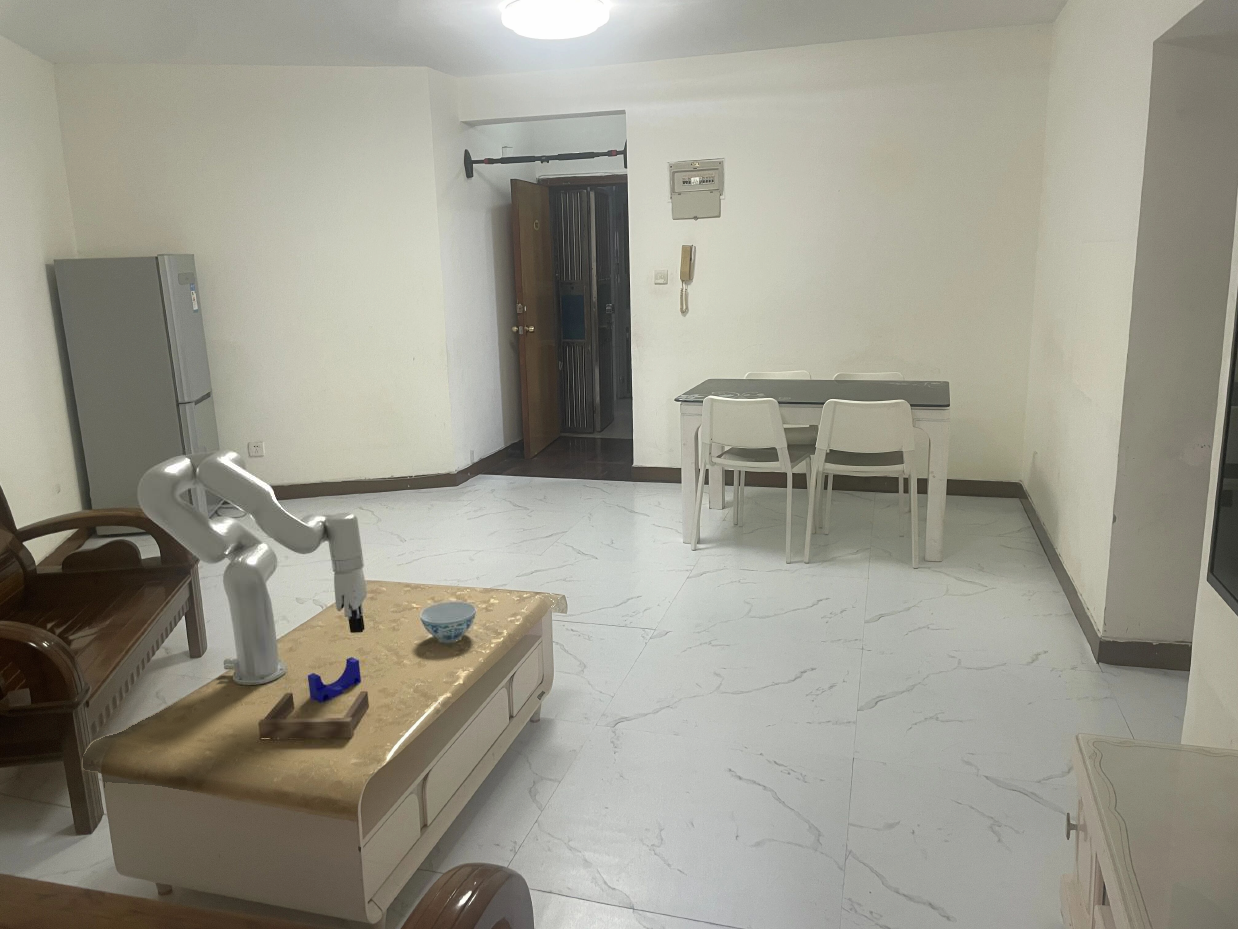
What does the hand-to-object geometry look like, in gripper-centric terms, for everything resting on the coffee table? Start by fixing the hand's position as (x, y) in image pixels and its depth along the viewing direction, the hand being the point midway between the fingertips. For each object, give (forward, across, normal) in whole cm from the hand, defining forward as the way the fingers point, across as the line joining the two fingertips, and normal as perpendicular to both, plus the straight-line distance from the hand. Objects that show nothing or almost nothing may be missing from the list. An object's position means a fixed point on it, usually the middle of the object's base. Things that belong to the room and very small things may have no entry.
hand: (357, 631), depth 215 cm
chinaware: (+11, -17, +19) cm, 27 cm away
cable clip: (+10, +13, -2) cm, 16 cm away
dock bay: (+10, +27, -1) cm, 29 cm away
